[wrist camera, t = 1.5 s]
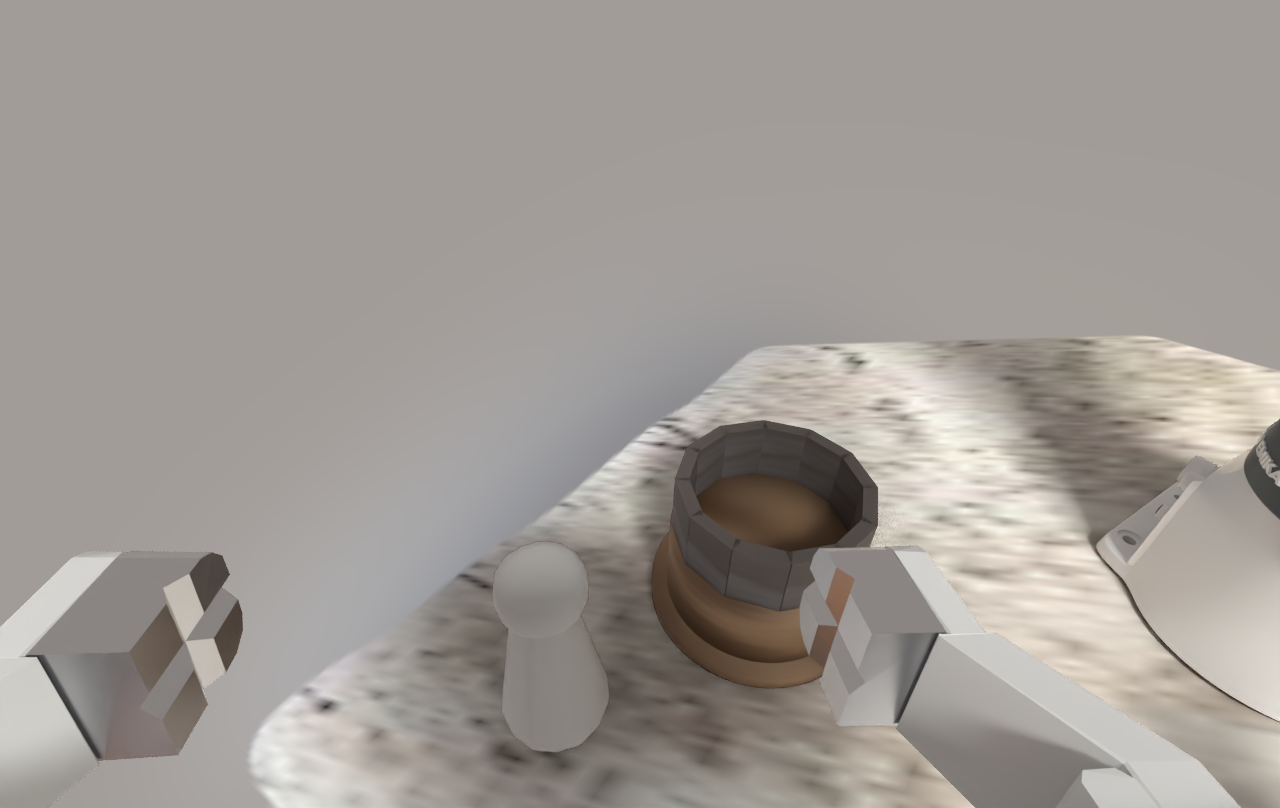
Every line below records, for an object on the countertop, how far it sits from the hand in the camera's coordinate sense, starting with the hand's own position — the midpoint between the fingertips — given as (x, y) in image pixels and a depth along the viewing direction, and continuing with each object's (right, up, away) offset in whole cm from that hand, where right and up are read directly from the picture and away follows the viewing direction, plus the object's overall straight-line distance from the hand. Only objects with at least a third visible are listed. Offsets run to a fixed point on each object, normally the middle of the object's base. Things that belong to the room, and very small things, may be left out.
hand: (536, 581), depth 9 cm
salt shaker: (-3, -15, +26) cm, 30 cm away
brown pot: (+9, -10, +33) cm, 36 cm away
